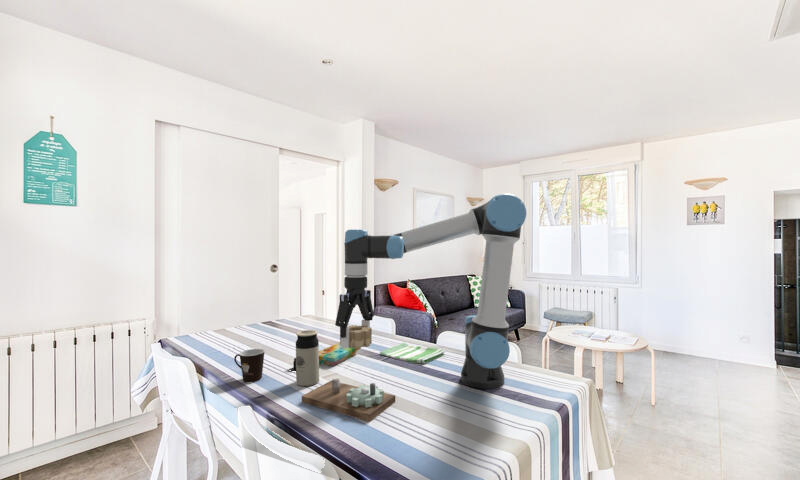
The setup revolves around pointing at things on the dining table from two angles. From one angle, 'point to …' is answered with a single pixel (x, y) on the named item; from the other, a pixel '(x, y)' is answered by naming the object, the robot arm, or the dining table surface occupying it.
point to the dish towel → (413, 353)
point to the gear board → (344, 401)
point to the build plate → (294, 365)
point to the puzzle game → (335, 354)
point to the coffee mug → (251, 364)
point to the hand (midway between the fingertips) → (355, 343)
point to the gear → (365, 395)
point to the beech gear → (359, 336)
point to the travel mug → (307, 358)
